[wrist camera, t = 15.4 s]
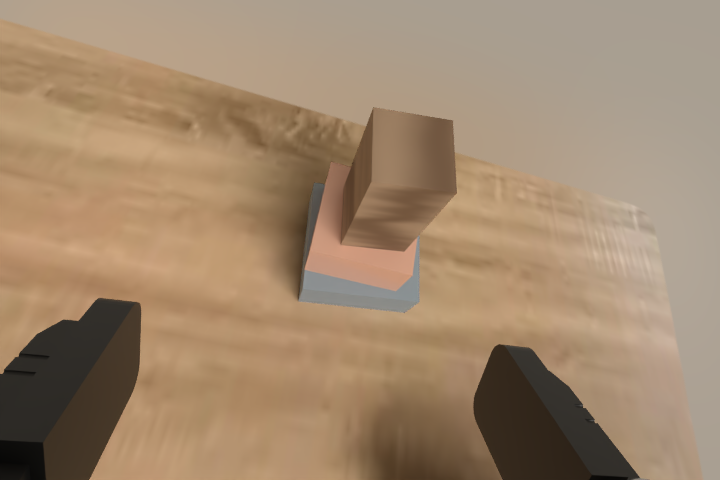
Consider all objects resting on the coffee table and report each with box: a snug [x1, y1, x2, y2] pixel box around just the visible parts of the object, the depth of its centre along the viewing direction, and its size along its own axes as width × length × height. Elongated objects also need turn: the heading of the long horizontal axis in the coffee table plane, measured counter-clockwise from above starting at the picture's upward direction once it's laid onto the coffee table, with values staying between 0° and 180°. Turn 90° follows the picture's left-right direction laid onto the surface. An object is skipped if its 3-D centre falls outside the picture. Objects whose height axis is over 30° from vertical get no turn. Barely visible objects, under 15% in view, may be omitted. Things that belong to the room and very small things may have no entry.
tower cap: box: [304, 162, 417, 291], centre depth 37 cm, size 8×8×4 cm
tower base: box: [298, 183, 419, 313], centre depth 41 cm, size 10×10×4 cm
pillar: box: [341, 108, 457, 252], centre depth 30 cm, size 5×5×10 cm
